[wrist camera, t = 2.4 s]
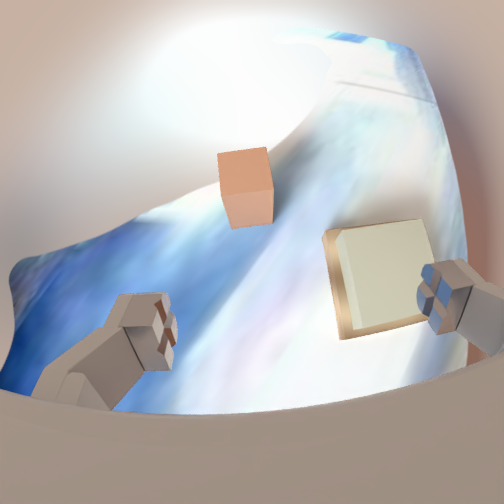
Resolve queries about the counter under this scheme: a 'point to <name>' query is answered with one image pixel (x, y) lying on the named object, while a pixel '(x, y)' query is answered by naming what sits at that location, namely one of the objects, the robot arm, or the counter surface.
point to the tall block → (246, 187)
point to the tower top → (383, 270)
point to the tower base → (341, 297)
